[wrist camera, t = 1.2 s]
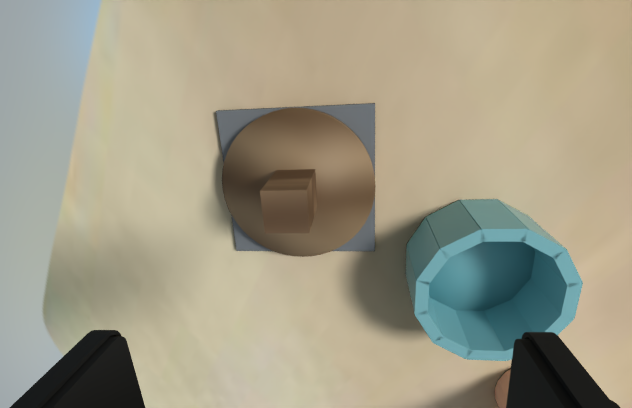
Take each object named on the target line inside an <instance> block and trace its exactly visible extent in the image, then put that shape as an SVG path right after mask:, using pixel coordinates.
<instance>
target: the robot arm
mask: <svg viewBox="0 0 632 408" xmlns="http://www.w3.org/2000/svg"><path fill="white" fill-rule="evenodd" d="M10 408H145V405H144V402H143V398H142V394H141V391H140V387H139V384H138V380H137V377H136V373H135V369H134V366H133V362H132V359H131V355H130V352H129V348H128V344H127V341H126V339H125V338H124V337H122V336H121V334H120V333H119V332H118V331H116V330H94V331H91V332H89V333H88V334H87V335H86V336H85V337H84V338H83V339H82V340H80V341H79V342H78V343H77V344H76V345H75V346H74V347H73V348H72V349H71V350H70V351H69V352H68V353H67V354H66V355H65V356H64V357H63V358H62V359H61V360H59V361H58V362H57V363H56V364H55V365H54V366H53V367H52V368H51V369H50V370H49V371H48V372H47V373H46V374H45V375H44V376H43V377H42V378H40V379H39V380H38V381H37V382H36V383H35V384H34V385H33V386H32V387H31V388H30V389H29V390H28V391H27V392H26V393H25V394H24V395H23V396H22V397H20V398H19V399H18V400H17V401H16V402H15V403H14V404H13V405H12V406H11V407H10ZM506 408H620V407H619V406H618V405H617V404H616V403H615V402H613V401H611V400H610V399H609V398H608V397H607V396H606V395H605V393H604V392H603V391H602V390H601V388H600V387H599V386H598V385H597V383H596V382H595V381H594V380H593V379H592V377H591V376H590V375H589V374H588V372H587V371H586V370H585V369H584V367H583V366H582V365H581V364H580V362H579V361H578V360H577V359H576V358H575V356H574V355H573V354H572V353H571V351H570V350H569V349H568V348H567V346H566V345H565V344H564V343H563V342H562V340H561V339H560V338H559V337H558V336H557V335H556V334H555V333H553V332H525V333H524V334H523V335H522V339H516V340H515V342H514V348H513V356H512V364H511V372H510V380H509V388H508V396H507V404H506Z"/></svg>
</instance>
